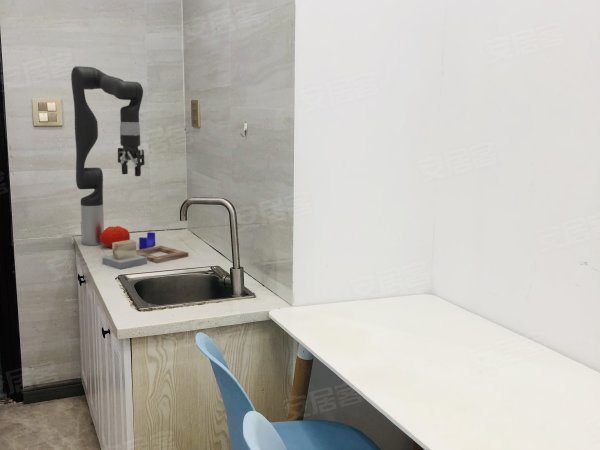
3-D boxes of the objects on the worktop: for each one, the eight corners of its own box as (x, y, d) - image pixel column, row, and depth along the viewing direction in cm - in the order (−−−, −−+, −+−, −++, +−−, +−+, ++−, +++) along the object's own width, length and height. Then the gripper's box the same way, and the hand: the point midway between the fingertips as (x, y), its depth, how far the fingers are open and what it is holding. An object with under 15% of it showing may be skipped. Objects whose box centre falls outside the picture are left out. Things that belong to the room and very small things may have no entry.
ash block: (112, 258, 239) (112, 242, 237) (130, 254, 245) (130, 239, 243) (118, 260, 236) (118, 244, 235) (136, 256, 242) (136, 241, 241)
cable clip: (145, 245, 273) (145, 232, 271) (155, 245, 272) (155, 232, 271) (135, 251, 261) (135, 237, 260) (146, 252, 260) (146, 238, 259)
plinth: (102, 263, 240) (102, 257, 240) (128, 258, 249) (128, 252, 249) (120, 269, 233) (120, 262, 232) (147, 263, 242) (147, 257, 241)
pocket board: (129, 255, 254) (129, 251, 254) (160, 249, 266) (160, 245, 266) (156, 263, 243) (156, 259, 242) (188, 256, 255) (188, 252, 254)
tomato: (98, 244, 271) (97, 225, 270) (127, 242, 276) (127, 223, 275) (102, 251, 260) (101, 231, 258) (132, 248, 265) (132, 229, 264)
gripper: (111, 133, 244) (112, 174, 247) (133, 134, 235) (134, 177, 238) (127, 132, 250) (128, 173, 253) (149, 134, 241) (150, 176, 244)
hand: (131, 175), depth 246 cm, fingers open, 8 cm apart
